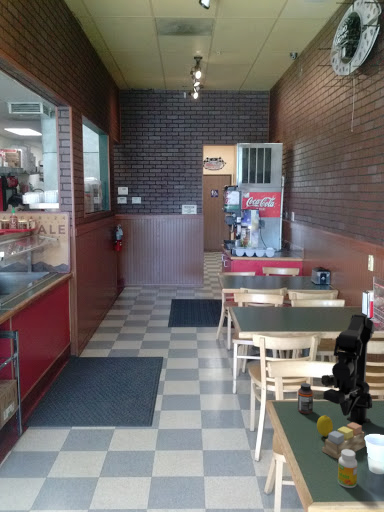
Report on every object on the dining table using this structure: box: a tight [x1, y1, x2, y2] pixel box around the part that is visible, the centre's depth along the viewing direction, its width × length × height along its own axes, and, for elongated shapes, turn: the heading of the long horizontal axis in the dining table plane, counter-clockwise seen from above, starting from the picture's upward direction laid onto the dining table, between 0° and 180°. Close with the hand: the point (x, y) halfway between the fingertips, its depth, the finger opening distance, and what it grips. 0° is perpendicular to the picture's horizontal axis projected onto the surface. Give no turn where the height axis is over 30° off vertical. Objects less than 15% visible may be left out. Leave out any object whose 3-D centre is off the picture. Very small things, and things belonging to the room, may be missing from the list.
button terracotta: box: [346, 421, 363, 436], centre depth 164 cm, size 4×4×4 cm
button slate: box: [327, 430, 344, 445], centre depth 158 cm, size 4×4×4 cm
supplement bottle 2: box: [337, 449, 358, 489], centre depth 141 cm, size 5×5×10 cm
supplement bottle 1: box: [297, 382, 314, 415], centre depth 190 cm, size 6×6×11 cm
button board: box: [321, 430, 366, 461], centre depth 161 cm, size 16×7×4 cm, turn 128°
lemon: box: [316, 414, 334, 438], centre depth 169 cm, size 6×6×8 cm
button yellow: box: [337, 425, 353, 440], centre depth 161 cm, size 4×4×4 cm
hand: (345, 415), depth 160 cm, fingers closed
